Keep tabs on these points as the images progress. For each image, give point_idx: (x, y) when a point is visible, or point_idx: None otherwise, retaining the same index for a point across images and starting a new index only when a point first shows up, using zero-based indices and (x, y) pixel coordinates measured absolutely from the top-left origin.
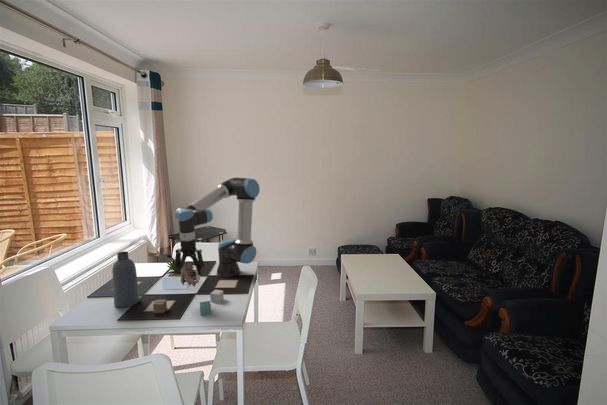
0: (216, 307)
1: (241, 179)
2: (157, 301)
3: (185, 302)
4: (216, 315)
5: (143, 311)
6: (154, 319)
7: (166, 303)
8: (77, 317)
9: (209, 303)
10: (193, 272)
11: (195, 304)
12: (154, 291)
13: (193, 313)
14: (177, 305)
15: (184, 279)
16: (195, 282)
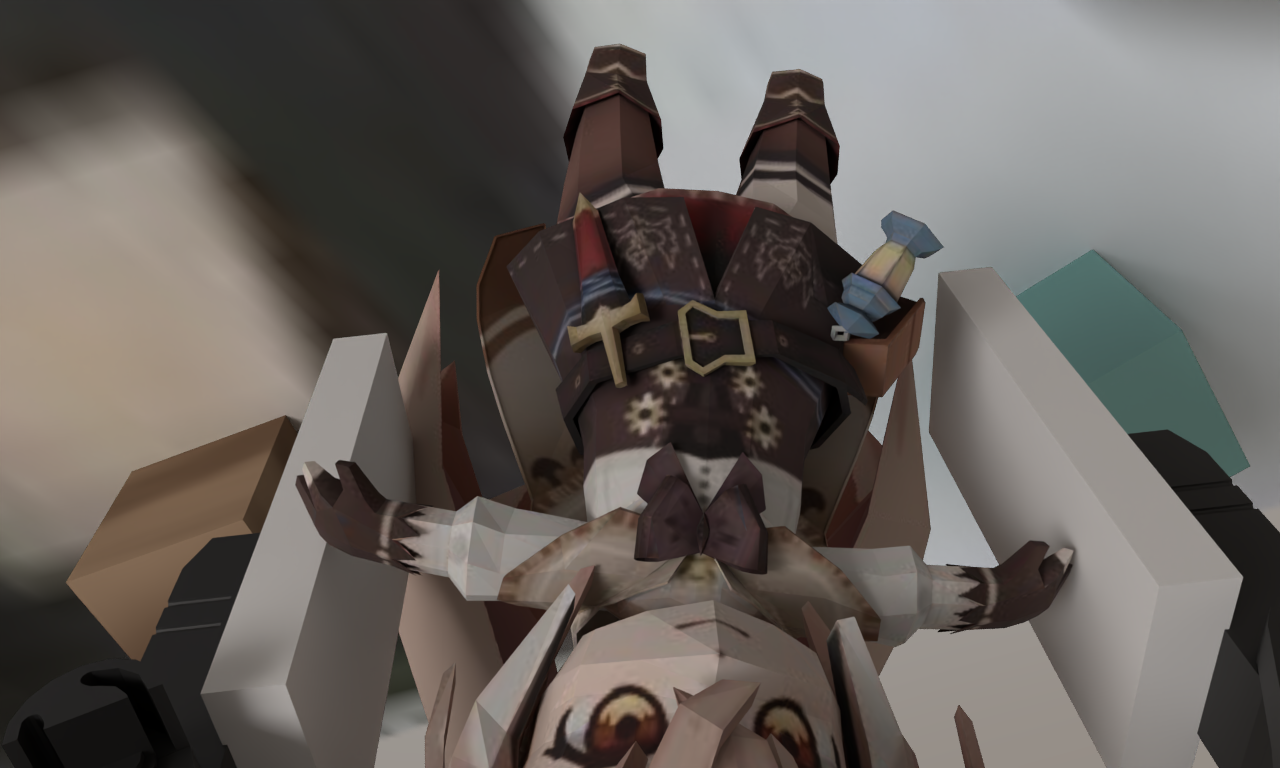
0: (1187, 145)
1: None
2: (150, 620)
3: (456, 131)
4: (1260, 384)
5: (9, 594)
6: (388, 700)
7: (267, 476)
8: None
9: (1210, 425)
10: (802, 476)
11: (715, 150)
12: None
13: None
14: (392, 283)
15: (440, 451)
16: (923, 486)
